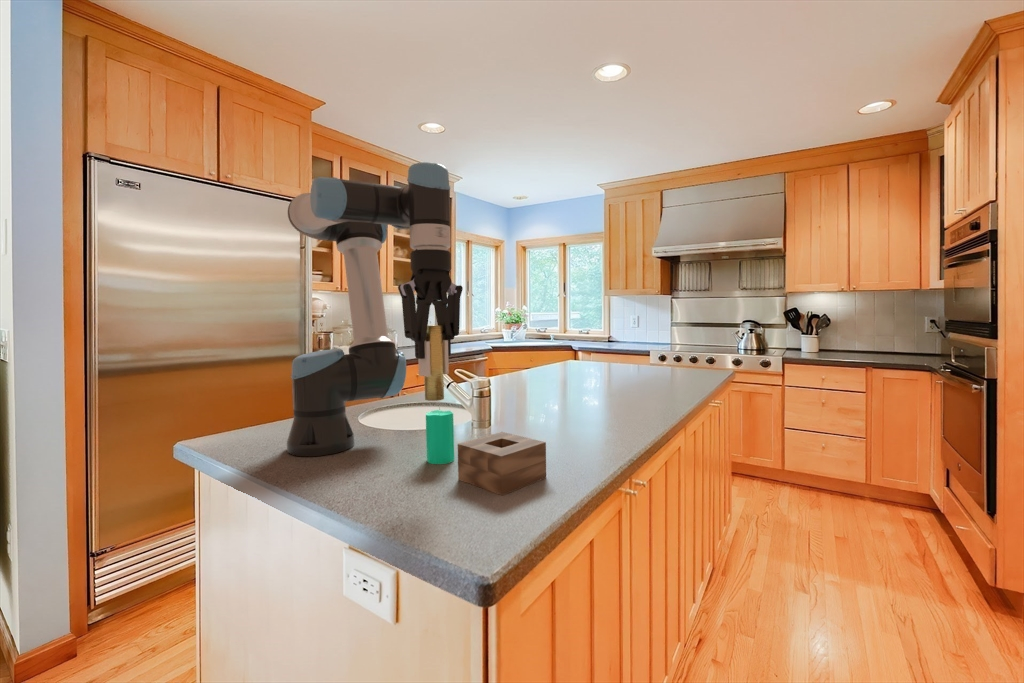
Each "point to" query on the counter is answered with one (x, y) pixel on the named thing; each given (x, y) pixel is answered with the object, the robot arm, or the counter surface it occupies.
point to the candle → (440, 437)
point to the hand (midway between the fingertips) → (433, 374)
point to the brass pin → (435, 364)
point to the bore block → (502, 462)
